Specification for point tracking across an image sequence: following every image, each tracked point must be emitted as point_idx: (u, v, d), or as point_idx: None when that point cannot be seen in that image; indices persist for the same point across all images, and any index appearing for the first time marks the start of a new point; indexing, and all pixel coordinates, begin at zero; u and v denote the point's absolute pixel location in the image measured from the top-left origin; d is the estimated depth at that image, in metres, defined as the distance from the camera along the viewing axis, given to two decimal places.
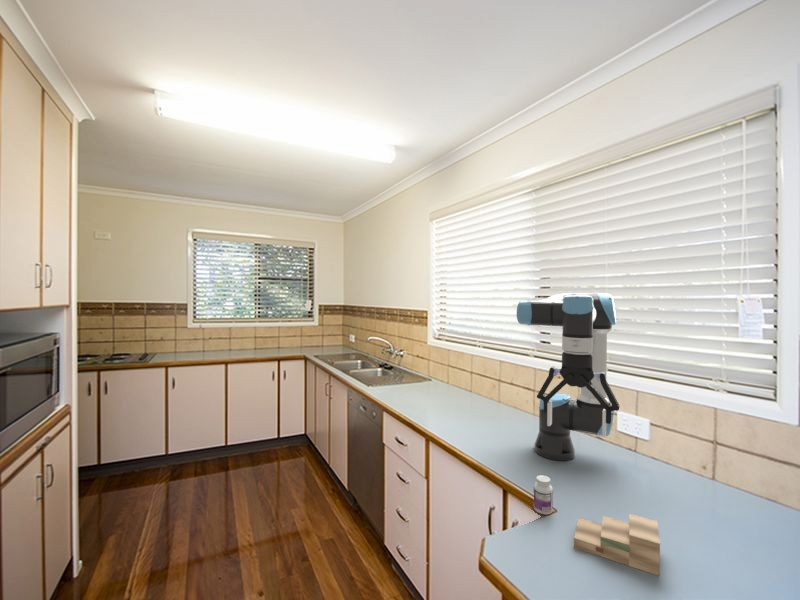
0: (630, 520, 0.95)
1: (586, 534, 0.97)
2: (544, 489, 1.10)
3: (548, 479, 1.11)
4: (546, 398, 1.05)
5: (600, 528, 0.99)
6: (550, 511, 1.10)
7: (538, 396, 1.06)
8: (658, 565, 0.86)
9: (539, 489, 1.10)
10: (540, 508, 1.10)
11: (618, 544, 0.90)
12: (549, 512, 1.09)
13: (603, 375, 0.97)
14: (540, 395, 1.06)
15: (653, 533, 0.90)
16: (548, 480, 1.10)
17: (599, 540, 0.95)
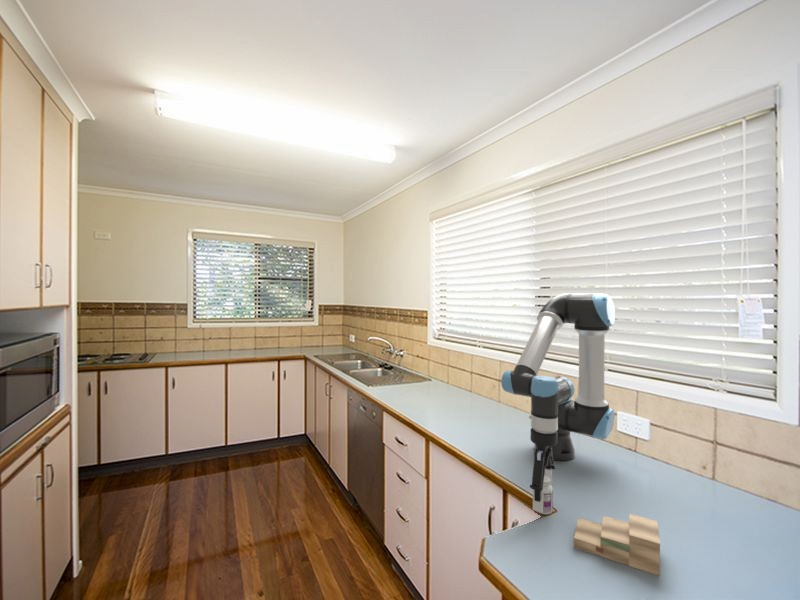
0: (630, 520, 0.95)
1: (586, 534, 0.97)
2: (544, 489, 1.10)
3: (548, 479, 1.11)
4: None
5: (600, 528, 0.99)
6: (550, 511, 1.10)
7: None
8: (658, 565, 0.86)
9: None
10: None
11: (618, 544, 0.90)
12: (549, 512, 1.09)
13: (534, 453, 1.06)
14: None
15: (653, 533, 0.90)
16: (548, 480, 1.10)
17: (599, 540, 0.95)
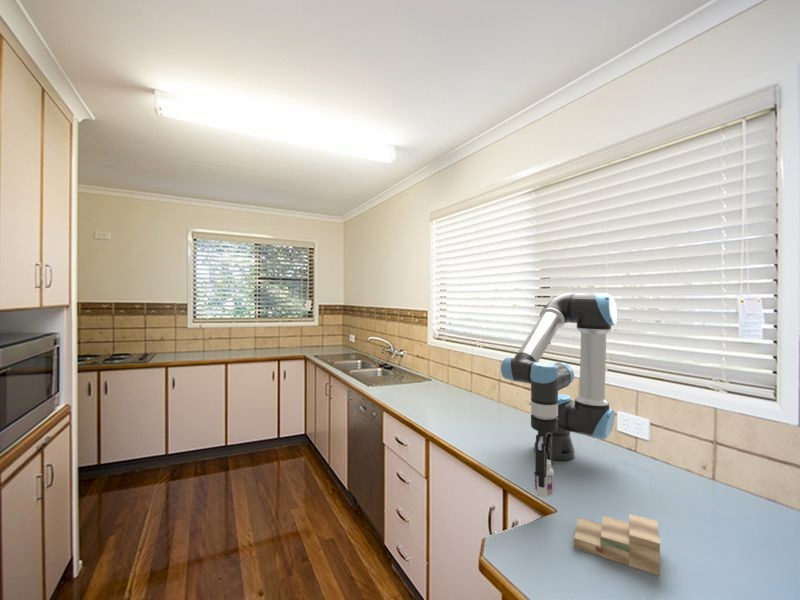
0: (630, 520, 0.95)
1: (586, 534, 0.97)
2: None
3: (549, 462, 1.11)
4: None
5: (600, 528, 0.99)
6: (551, 493, 1.10)
7: None
8: (658, 565, 0.86)
9: None
10: None
11: (618, 544, 0.90)
12: (550, 494, 1.10)
13: (535, 444, 1.07)
14: None
15: (653, 533, 0.90)
16: (549, 463, 1.11)
17: (599, 540, 0.95)
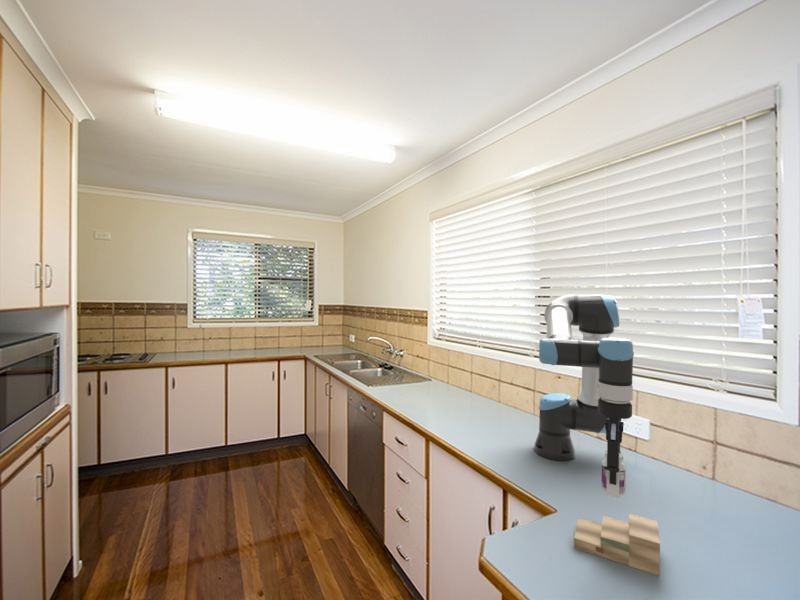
0: (630, 520, 0.95)
1: (586, 534, 0.97)
2: None
3: (620, 454, 0.94)
4: None
5: (600, 528, 0.99)
6: (623, 492, 0.93)
7: None
8: (658, 565, 0.86)
9: None
10: None
11: (618, 544, 0.90)
12: (622, 493, 0.93)
13: (607, 433, 0.90)
14: None
15: (653, 533, 0.90)
16: (620, 455, 0.94)
17: (599, 540, 0.95)
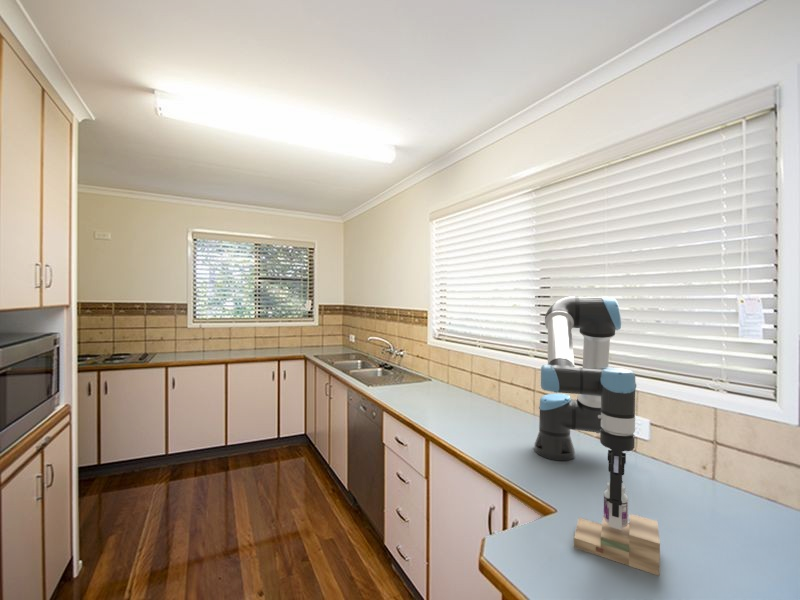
0: (630, 520, 0.95)
1: (586, 534, 0.97)
2: None
3: (622, 486, 0.94)
4: None
5: (600, 528, 0.99)
6: (626, 524, 0.93)
7: None
8: (658, 565, 0.86)
9: None
10: None
11: (618, 544, 0.90)
12: (625, 525, 0.92)
13: (610, 465, 0.90)
14: None
15: (653, 533, 0.90)
16: (623, 487, 0.93)
17: (599, 540, 0.95)
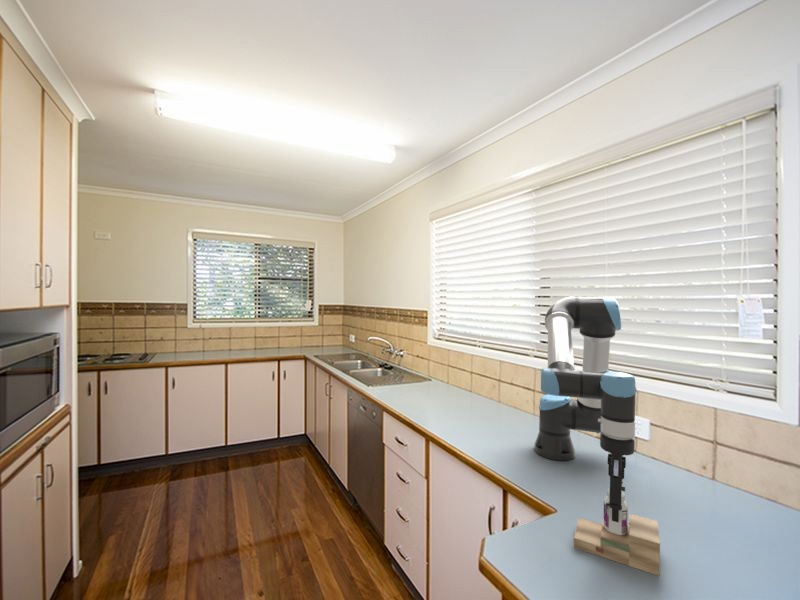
0: (630, 520, 0.95)
1: (586, 534, 0.97)
2: None
3: (622, 493, 0.94)
4: None
5: (600, 528, 0.99)
6: (625, 531, 0.93)
7: None
8: (658, 565, 0.86)
9: None
10: None
11: (618, 544, 0.90)
12: (624, 532, 0.93)
13: (610, 468, 0.90)
14: None
15: (653, 533, 0.90)
16: (622, 494, 0.94)
17: (599, 540, 0.95)
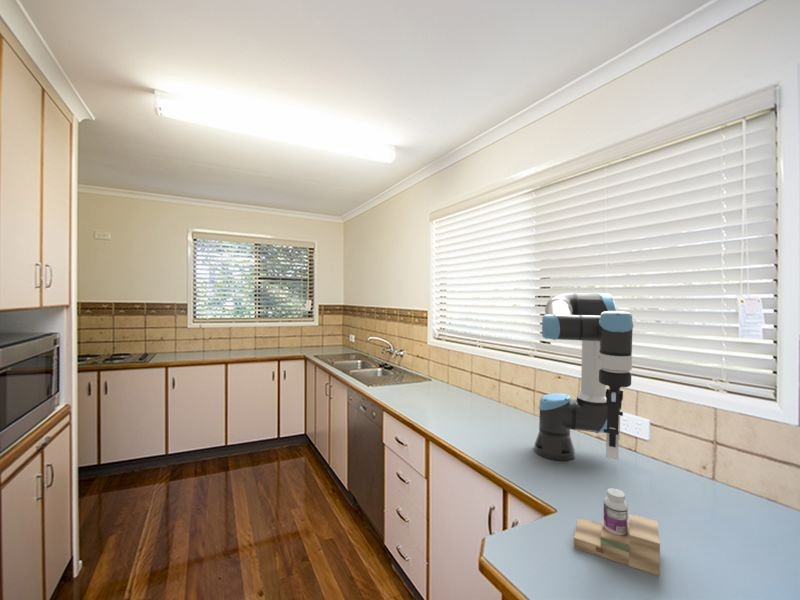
0: (630, 520, 0.95)
1: (586, 534, 0.97)
2: (619, 505, 0.93)
3: (622, 493, 0.94)
4: None
5: (600, 528, 0.99)
6: (625, 531, 0.93)
7: None
8: (658, 565, 0.86)
9: (612, 505, 0.93)
10: (614, 527, 0.93)
11: (618, 544, 0.90)
12: (624, 532, 0.93)
13: (608, 394, 0.95)
14: None
15: (653, 533, 0.90)
16: (622, 494, 0.94)
17: (599, 540, 0.95)
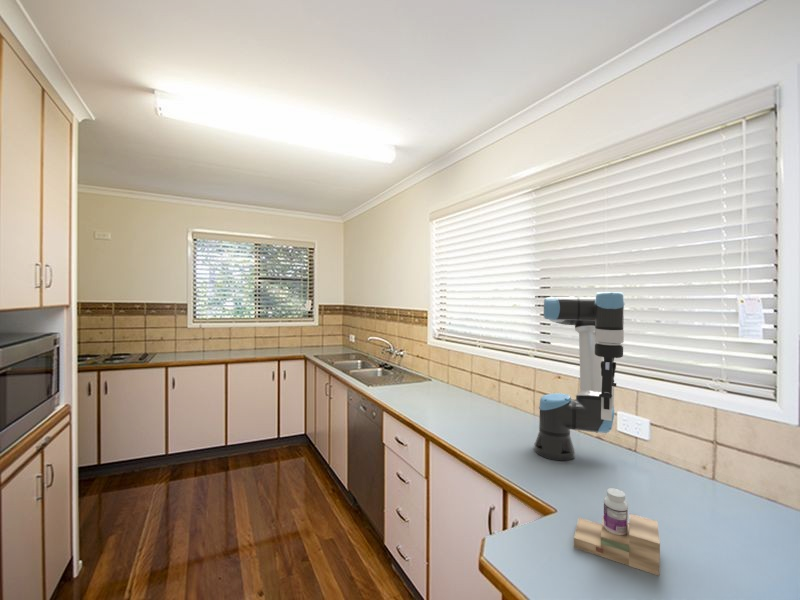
0: (630, 520, 0.95)
1: (586, 534, 0.97)
2: (619, 505, 0.93)
3: (622, 493, 0.94)
4: None
5: (600, 528, 0.99)
6: (625, 531, 0.93)
7: None
8: (658, 565, 0.86)
9: (612, 505, 0.93)
10: (614, 527, 0.93)
11: (618, 544, 0.90)
12: (624, 532, 0.93)
13: (602, 363, 1.08)
14: None
15: (653, 533, 0.90)
16: (622, 494, 0.94)
17: (599, 540, 0.95)
